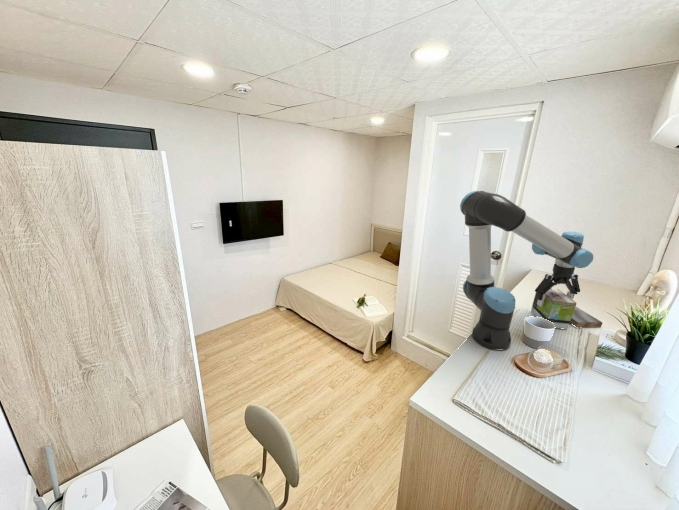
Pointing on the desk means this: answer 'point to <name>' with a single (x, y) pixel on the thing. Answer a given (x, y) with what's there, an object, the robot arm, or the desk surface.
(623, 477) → the desk surface
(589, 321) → the plate
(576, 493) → the desk surface
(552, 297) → the tea box
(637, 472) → the desk surface
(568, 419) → the desk surface
